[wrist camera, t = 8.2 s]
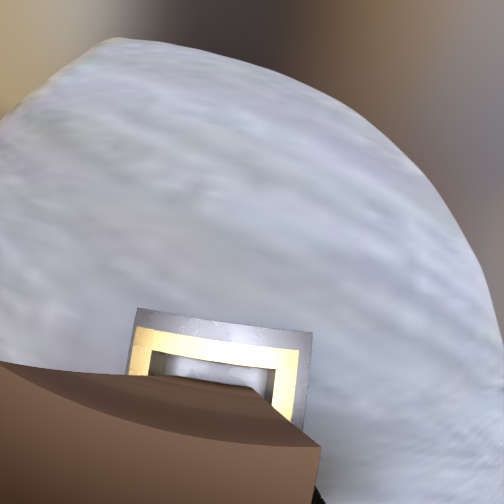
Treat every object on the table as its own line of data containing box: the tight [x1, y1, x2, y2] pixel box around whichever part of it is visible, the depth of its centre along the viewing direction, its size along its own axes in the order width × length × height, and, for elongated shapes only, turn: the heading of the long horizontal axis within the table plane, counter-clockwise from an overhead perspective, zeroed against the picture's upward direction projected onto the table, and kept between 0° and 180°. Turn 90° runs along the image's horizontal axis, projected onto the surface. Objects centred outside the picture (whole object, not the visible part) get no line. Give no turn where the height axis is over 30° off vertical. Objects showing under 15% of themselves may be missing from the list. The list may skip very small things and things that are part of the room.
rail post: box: [0, 361, 321, 504], centre depth 7 cm, size 4×4×13 cm
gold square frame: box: [125, 308, 313, 431], centre depth 14 cm, size 11×11×4 cm
